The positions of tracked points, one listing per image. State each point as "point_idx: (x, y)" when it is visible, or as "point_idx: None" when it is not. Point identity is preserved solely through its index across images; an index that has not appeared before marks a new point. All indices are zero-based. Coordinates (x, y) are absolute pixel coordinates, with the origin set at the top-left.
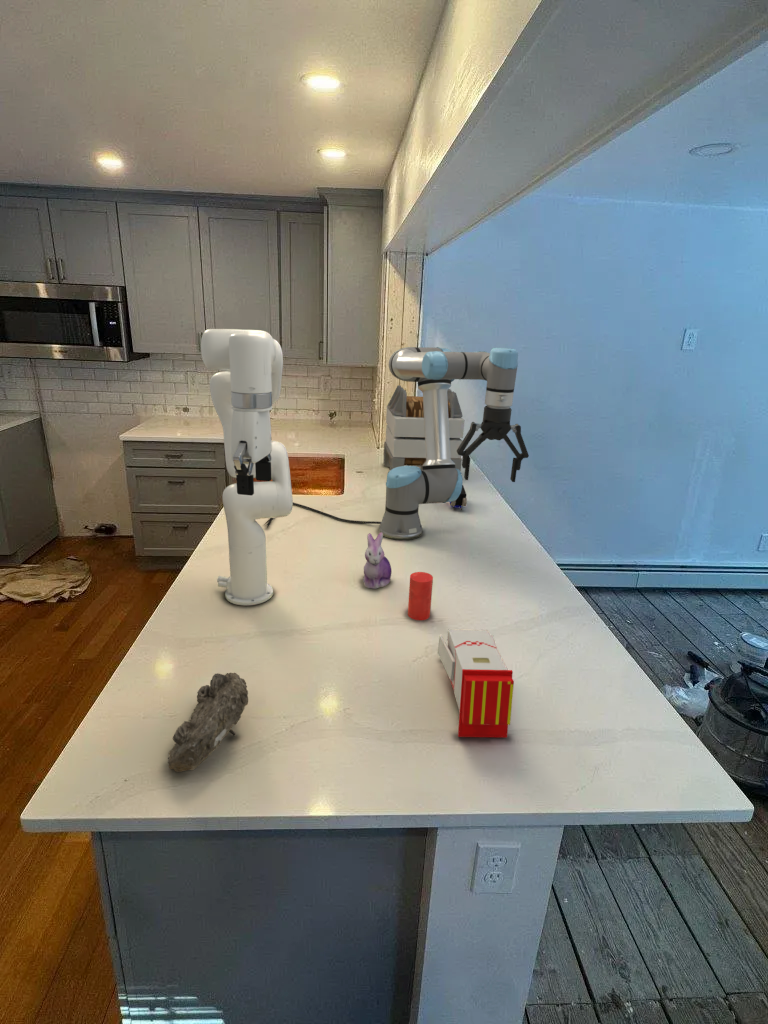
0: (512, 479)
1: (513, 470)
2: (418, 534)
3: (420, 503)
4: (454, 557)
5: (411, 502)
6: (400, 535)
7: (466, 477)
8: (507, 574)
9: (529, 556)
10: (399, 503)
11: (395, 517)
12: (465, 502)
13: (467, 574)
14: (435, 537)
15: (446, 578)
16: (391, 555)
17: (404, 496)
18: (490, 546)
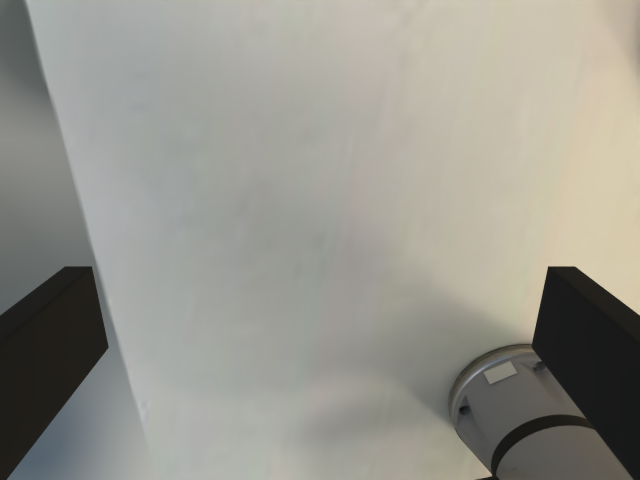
0: (81, 288)
1: (20, 351)
2: (471, 372)
3: (500, 474)
4: (381, 239)
5: (553, 459)
6: (535, 354)
7: (583, 278)
8: (226, 124)
9: (136, 264)
10: (600, 451)
11: (578, 409)
12: None
13: (363, 114)
14: (412, 372)
15: (442, 76)
16: (583, 239)
17: (601, 476)
18: (251, 325)
